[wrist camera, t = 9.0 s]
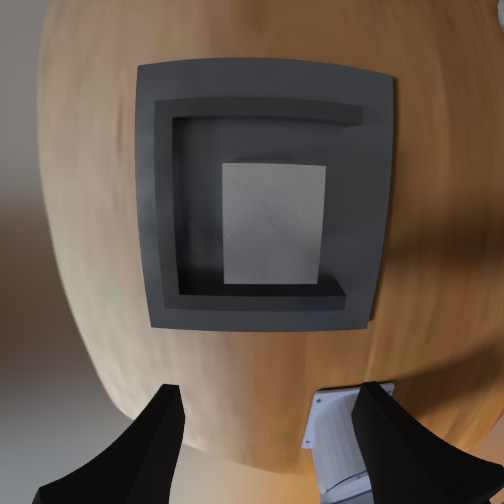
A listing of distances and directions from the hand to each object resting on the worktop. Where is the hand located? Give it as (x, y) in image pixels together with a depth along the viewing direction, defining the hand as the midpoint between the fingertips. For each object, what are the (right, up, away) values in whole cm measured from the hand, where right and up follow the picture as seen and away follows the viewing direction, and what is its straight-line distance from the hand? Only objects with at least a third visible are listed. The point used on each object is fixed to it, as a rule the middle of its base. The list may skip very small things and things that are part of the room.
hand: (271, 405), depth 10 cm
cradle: (0, +9, +8) cm, 12 cm away
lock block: (0, +9, +7) cm, 11 cm away
